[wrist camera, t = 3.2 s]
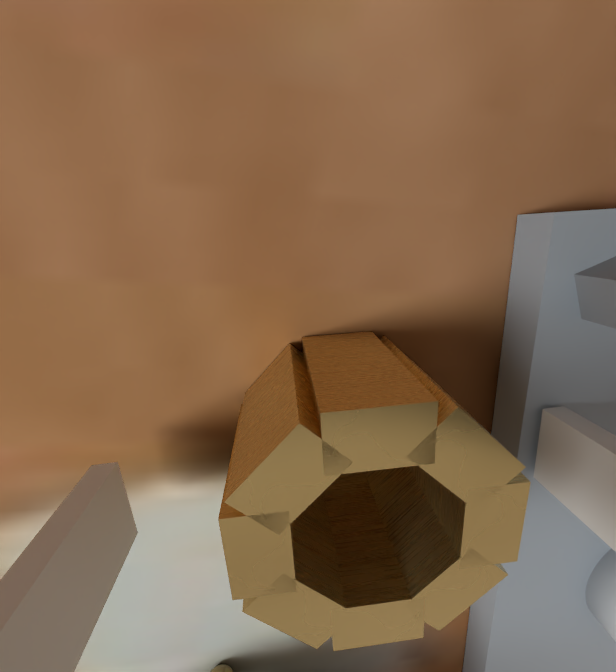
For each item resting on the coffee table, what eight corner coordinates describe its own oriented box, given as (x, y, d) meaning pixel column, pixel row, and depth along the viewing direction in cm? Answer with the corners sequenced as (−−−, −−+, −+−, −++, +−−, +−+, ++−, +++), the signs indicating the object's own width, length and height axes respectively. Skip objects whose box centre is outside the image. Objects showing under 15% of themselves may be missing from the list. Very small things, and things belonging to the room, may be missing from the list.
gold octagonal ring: (233, 342, 11) (201, 425, 6) (436, 325, 12) (546, 390, 7) (255, 510, 13) (244, 664, 9) (427, 489, 14) (506, 625, 9)
